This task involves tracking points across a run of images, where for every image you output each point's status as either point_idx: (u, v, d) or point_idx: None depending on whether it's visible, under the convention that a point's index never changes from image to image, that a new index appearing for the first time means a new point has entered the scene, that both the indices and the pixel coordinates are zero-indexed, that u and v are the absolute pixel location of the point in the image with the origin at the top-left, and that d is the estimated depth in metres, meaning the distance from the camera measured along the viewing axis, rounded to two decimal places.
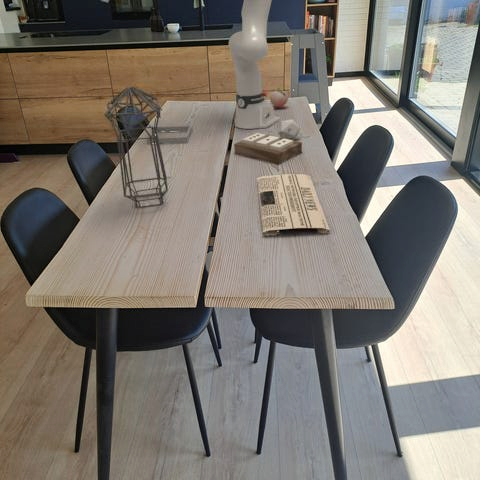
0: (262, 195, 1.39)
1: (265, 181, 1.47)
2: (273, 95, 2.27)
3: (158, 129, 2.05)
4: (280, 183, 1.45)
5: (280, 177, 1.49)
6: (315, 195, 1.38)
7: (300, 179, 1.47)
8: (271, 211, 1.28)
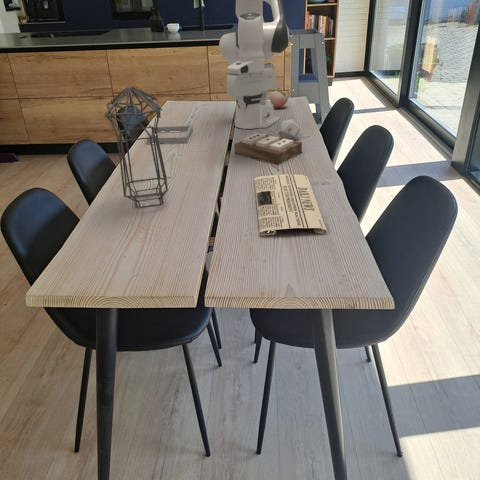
0: (259, 195, 1.39)
1: (262, 181, 1.47)
2: (273, 95, 2.27)
3: (158, 129, 2.05)
4: (277, 183, 1.45)
5: (278, 177, 1.49)
6: (312, 195, 1.38)
7: (297, 179, 1.47)
8: (268, 211, 1.28)
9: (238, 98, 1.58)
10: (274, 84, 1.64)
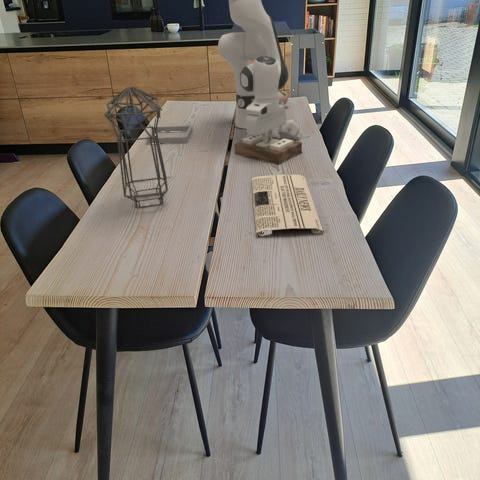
0: (256, 195, 1.39)
1: (259, 181, 1.47)
2: None
3: (158, 129, 2.05)
4: (274, 183, 1.45)
5: (275, 177, 1.49)
6: (309, 195, 1.38)
7: (294, 179, 1.47)
8: (264, 212, 1.28)
9: (263, 133, 1.70)
10: (285, 119, 1.75)
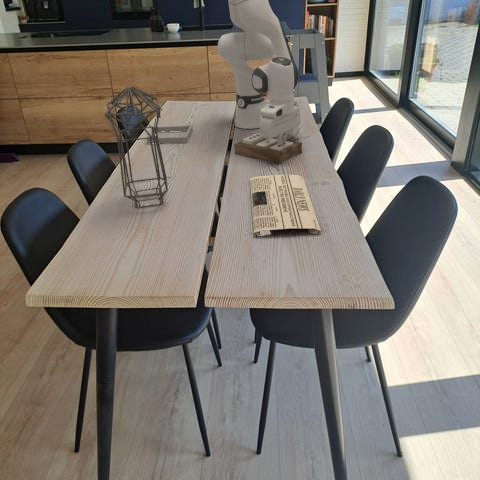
0: (254, 195, 1.39)
1: (258, 181, 1.47)
2: None
3: (158, 129, 2.05)
4: (273, 183, 1.45)
5: (273, 177, 1.49)
6: (307, 196, 1.38)
7: (293, 179, 1.47)
8: (262, 212, 1.28)
9: (277, 136, 1.66)
10: (299, 121, 1.71)
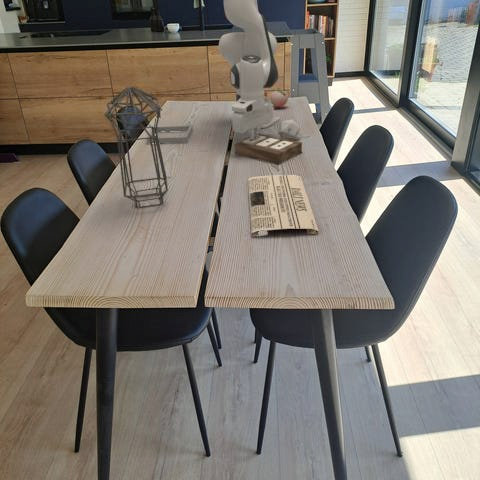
0: (252, 196, 1.39)
1: (256, 182, 1.47)
2: (273, 95, 2.27)
3: (158, 129, 2.05)
4: (271, 184, 1.45)
5: (271, 177, 1.49)
6: (305, 196, 1.38)
7: (291, 180, 1.47)
8: (260, 212, 1.28)
9: (249, 130, 1.74)
10: (271, 117, 1.78)
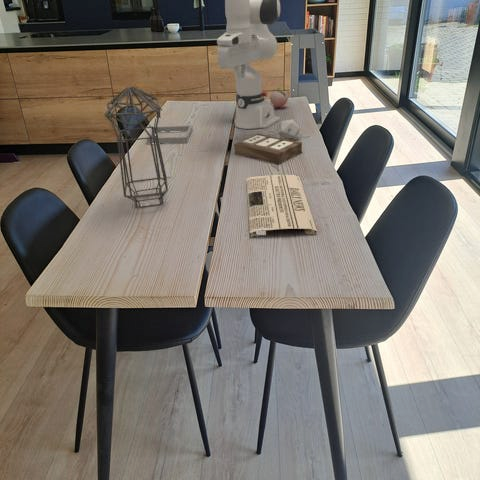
0: (251, 196, 1.39)
1: (254, 182, 1.47)
2: (273, 95, 2.27)
3: (158, 129, 2.05)
4: (269, 184, 1.45)
5: (270, 177, 1.49)
6: (304, 196, 1.38)
7: (289, 180, 1.47)
8: (258, 212, 1.28)
9: (236, 68, 1.66)
10: (259, 55, 1.70)
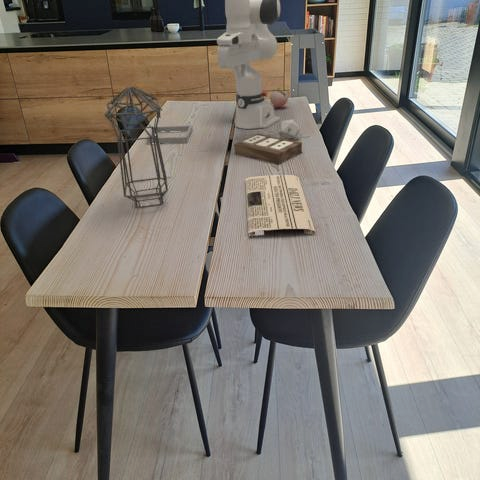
0: (249, 196, 1.39)
1: (253, 182, 1.47)
2: (273, 95, 2.27)
3: (158, 129, 2.05)
4: (268, 184, 1.45)
5: (269, 177, 1.49)
6: (302, 196, 1.38)
7: (288, 180, 1.47)
8: (257, 212, 1.28)
9: (236, 67, 1.66)
10: (259, 55, 1.70)
